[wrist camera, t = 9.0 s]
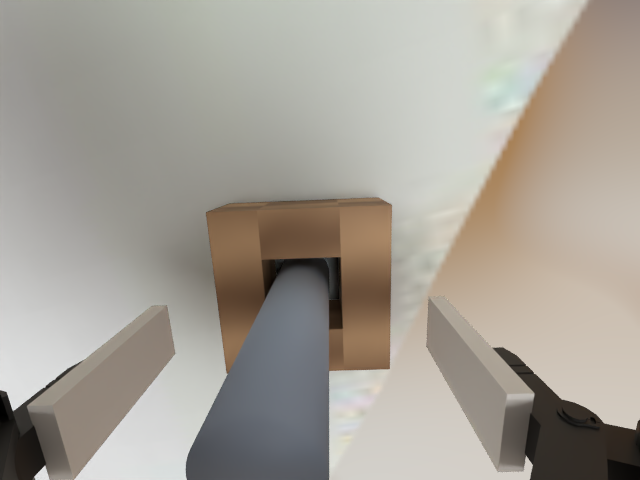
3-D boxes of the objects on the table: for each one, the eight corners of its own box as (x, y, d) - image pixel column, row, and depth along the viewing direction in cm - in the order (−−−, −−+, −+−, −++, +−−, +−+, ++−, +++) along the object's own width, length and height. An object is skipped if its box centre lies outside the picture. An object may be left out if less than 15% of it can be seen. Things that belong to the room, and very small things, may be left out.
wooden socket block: (229, 203, 22) (205, 212, 18) (378, 197, 22) (391, 205, 17) (244, 336, 25) (226, 373, 20) (378, 332, 24) (389, 369, 20)
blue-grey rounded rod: (280, 249, 23) (176, 416, 7) (328, 248, 23) (326, 415, 7) (283, 294, 24) (196, 531, 8) (329, 293, 24) (331, 531, 8)
